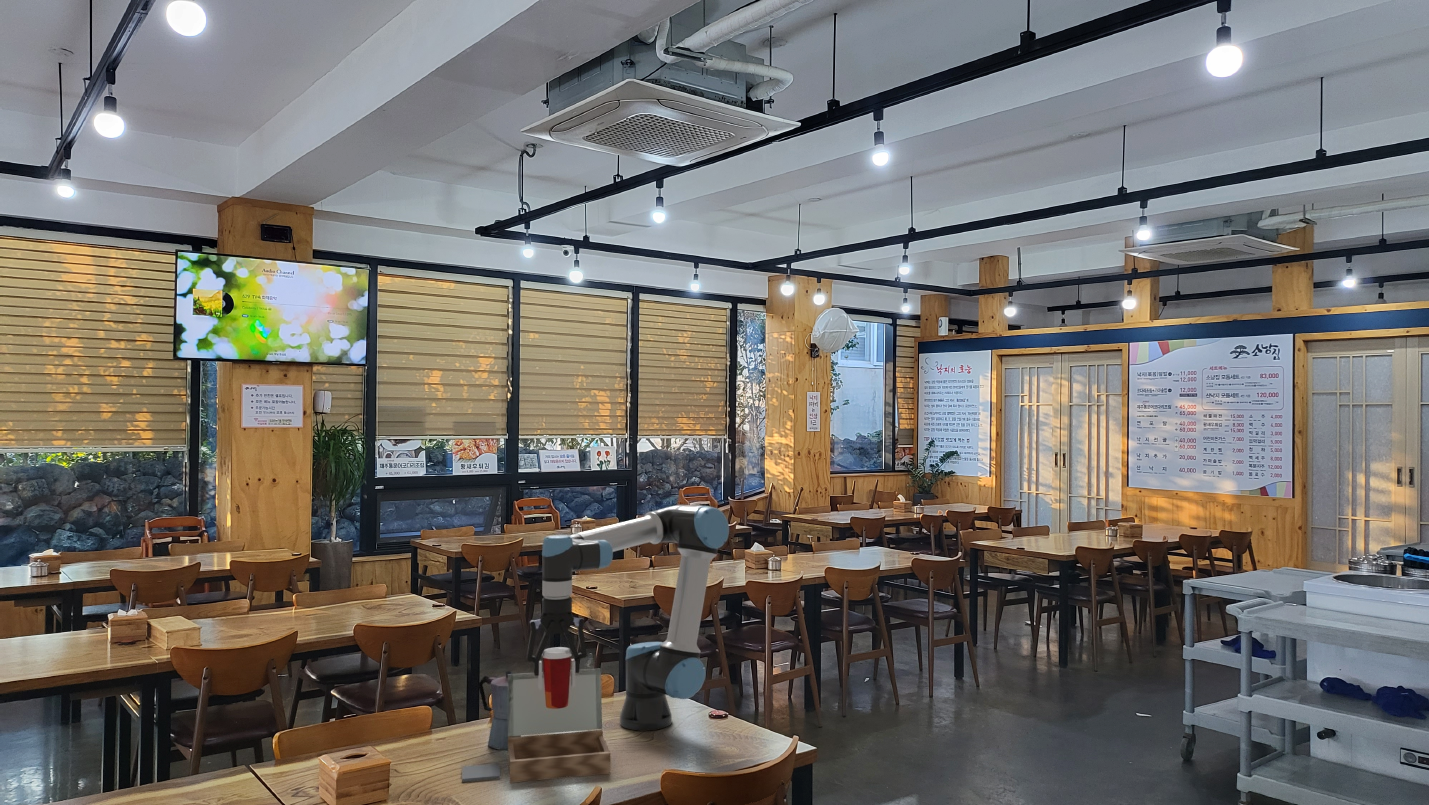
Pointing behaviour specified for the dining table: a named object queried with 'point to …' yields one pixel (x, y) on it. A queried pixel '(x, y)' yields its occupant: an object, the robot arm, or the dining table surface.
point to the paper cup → (556, 676)
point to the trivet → (480, 772)
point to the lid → (538, 719)
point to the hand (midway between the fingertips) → (556, 686)
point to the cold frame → (557, 756)
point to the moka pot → (497, 710)
